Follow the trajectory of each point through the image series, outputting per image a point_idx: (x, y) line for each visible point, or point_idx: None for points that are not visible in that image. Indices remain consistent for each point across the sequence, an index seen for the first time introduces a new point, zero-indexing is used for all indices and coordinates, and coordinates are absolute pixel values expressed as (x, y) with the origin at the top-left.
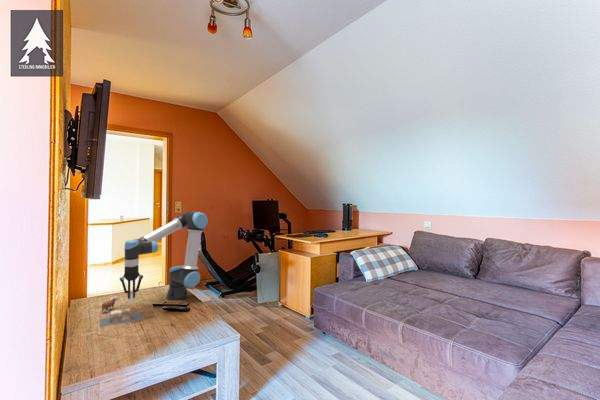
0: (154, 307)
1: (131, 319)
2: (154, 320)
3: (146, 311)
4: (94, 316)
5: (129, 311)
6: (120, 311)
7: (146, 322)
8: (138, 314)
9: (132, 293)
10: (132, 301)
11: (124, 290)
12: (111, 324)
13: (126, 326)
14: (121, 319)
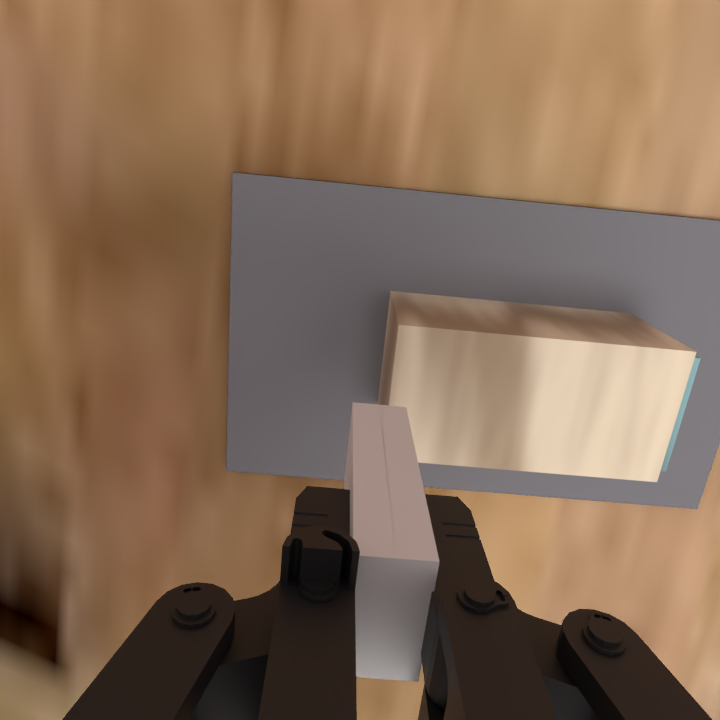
0: (50, 554)
1: (379, 264)
2: (74, 32)
3: (158, 472)
4: (709, 630)
5: (413, 322)
6: (542, 391)
7: (198, 21)
8: (267, 401)
9: (367, 564)
10: (362, 429)
11: (693, 711)
12: (645, 231)
13: (486, 40)
14: (506, 306)
